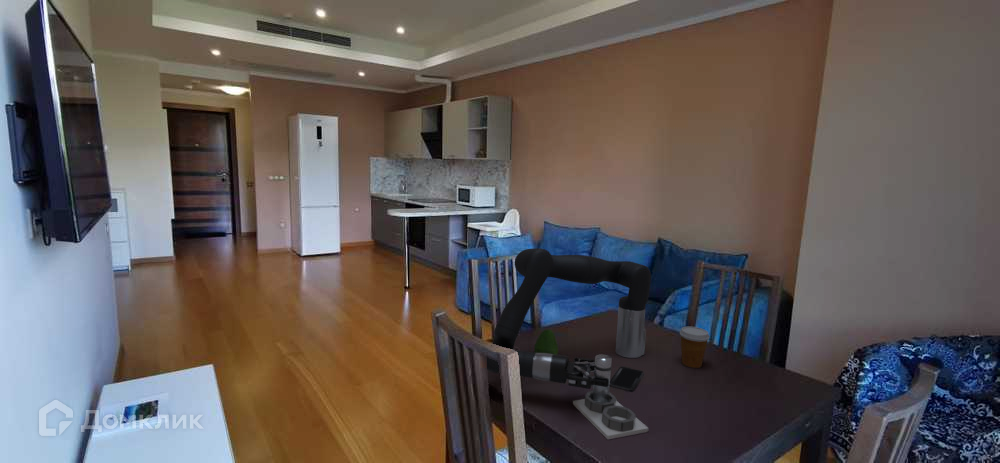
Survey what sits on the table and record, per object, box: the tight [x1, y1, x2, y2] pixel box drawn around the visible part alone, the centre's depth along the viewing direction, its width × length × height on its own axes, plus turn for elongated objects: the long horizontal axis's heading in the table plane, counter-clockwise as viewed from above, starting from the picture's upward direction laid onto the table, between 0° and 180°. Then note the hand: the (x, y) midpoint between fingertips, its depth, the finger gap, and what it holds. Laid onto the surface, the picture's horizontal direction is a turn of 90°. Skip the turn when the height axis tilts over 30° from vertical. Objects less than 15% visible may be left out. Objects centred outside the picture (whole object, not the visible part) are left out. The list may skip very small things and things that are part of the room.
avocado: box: [534, 328, 559, 355], centre depth 160 cm, size 8×8×12 cm
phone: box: [609, 366, 645, 393], centre depth 150 cm, size 8×1×15 cm
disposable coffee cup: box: [679, 326, 710, 369], centre depth 163 cm, size 10×10×12 cm
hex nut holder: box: [572, 390, 649, 440], centre depth 127 cm, size 12×18×4 cm, turn 19°
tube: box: [592, 353, 613, 403], centre depth 131 cm, size 4×4×14 cm
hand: (609, 376), depth 130 cm, fingers open, 8 cm apart
